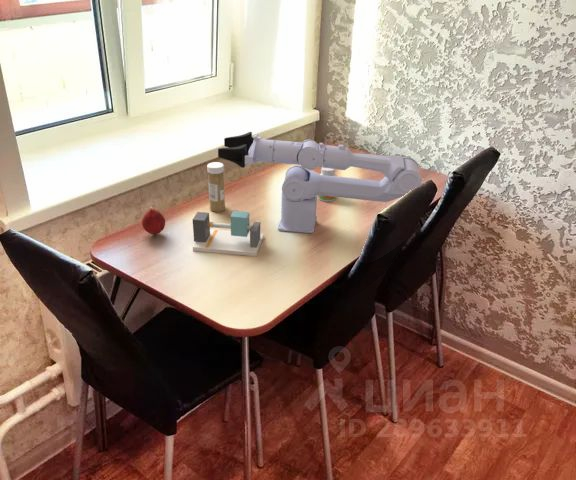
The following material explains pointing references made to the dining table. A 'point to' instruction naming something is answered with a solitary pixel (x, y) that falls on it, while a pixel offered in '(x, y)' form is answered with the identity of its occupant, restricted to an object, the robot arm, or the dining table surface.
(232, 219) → the sleeve
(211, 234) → the sliding block rail
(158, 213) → the onion
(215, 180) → the sprinkles bottle
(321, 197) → the supplement bottle
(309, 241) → the dining table surface
